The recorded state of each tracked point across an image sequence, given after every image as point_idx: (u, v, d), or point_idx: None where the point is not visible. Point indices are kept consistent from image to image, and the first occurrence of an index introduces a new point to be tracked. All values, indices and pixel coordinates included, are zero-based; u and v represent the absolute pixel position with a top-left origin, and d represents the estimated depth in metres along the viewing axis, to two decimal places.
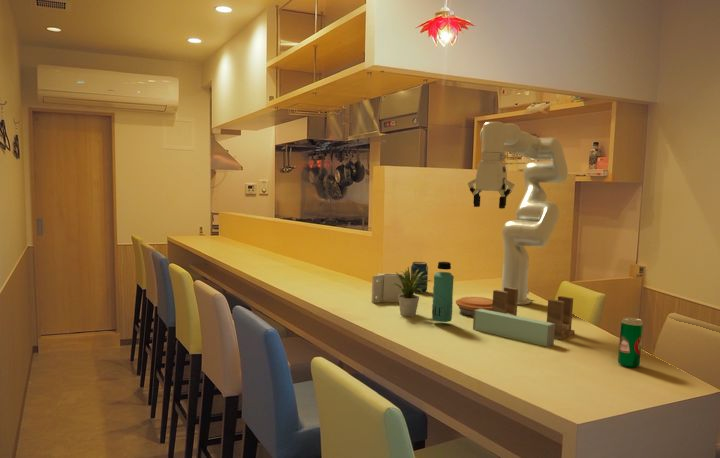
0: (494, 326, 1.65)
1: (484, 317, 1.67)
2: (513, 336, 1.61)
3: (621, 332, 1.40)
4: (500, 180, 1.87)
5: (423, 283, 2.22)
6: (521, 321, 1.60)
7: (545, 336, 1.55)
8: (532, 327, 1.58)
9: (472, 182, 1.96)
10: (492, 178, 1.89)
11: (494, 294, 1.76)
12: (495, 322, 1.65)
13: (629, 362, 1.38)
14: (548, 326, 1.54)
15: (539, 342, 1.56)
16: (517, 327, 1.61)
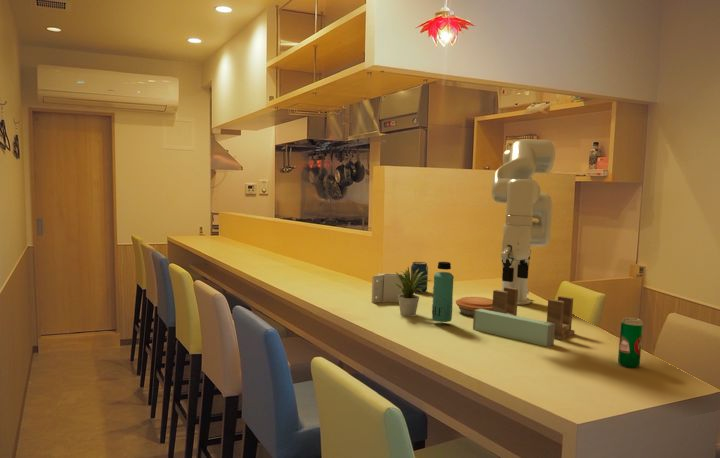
0: (494, 326, 1.65)
1: (484, 317, 1.67)
2: (513, 336, 1.61)
3: (621, 332, 1.40)
4: None
5: (423, 283, 2.22)
6: (521, 321, 1.60)
7: (545, 336, 1.55)
8: (532, 327, 1.58)
9: (508, 252, 1.56)
10: (527, 245, 1.61)
11: (494, 294, 1.76)
12: (495, 322, 1.65)
13: (629, 362, 1.38)
14: (548, 326, 1.54)
15: (539, 342, 1.56)
16: (517, 327, 1.61)
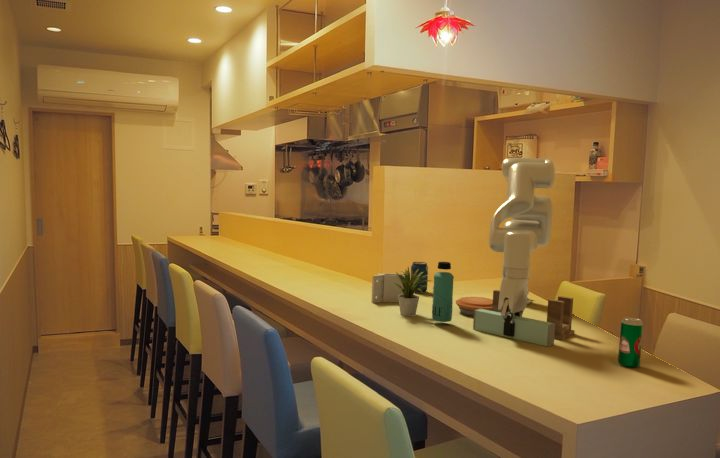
0: (494, 326, 1.65)
1: (484, 317, 1.67)
2: (513, 336, 1.61)
3: (621, 332, 1.40)
4: None
5: (423, 283, 2.22)
6: (521, 321, 1.60)
7: (545, 336, 1.55)
8: (532, 327, 1.57)
9: (507, 310, 1.59)
10: (524, 297, 1.62)
11: (494, 294, 1.76)
12: (495, 322, 1.65)
13: (629, 362, 1.38)
14: (548, 326, 1.54)
15: (539, 342, 1.56)
16: (517, 327, 1.61)
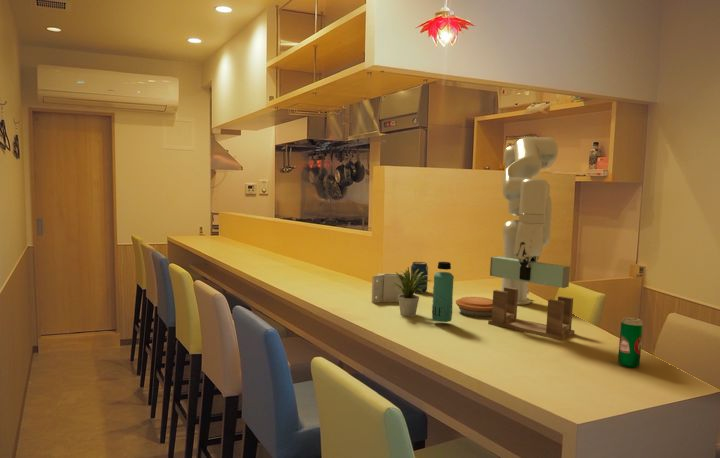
0: (510, 272, 1.71)
1: (501, 263, 1.73)
2: (529, 280, 1.67)
3: (621, 332, 1.40)
4: None
5: (423, 283, 2.22)
6: (537, 265, 1.65)
7: (560, 278, 1.61)
8: (548, 270, 1.63)
9: (523, 254, 1.64)
10: (540, 242, 1.68)
11: (494, 294, 1.76)
12: (511, 267, 1.71)
13: (629, 362, 1.38)
14: (563, 268, 1.60)
15: (554, 284, 1.62)
16: (533, 271, 1.66)
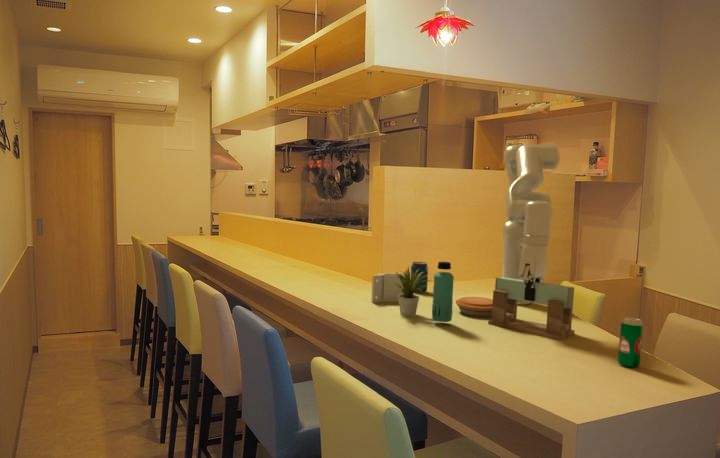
0: (515, 292, 1.74)
1: (506, 284, 1.76)
2: None
3: (621, 332, 1.40)
4: None
5: (423, 283, 2.22)
6: (542, 286, 1.68)
7: (565, 299, 1.64)
8: (552, 291, 1.66)
9: (528, 275, 1.67)
10: (544, 263, 1.71)
11: (494, 294, 1.76)
12: (516, 288, 1.74)
13: (629, 362, 1.38)
14: (568, 289, 1.63)
15: None
16: (538, 291, 1.69)
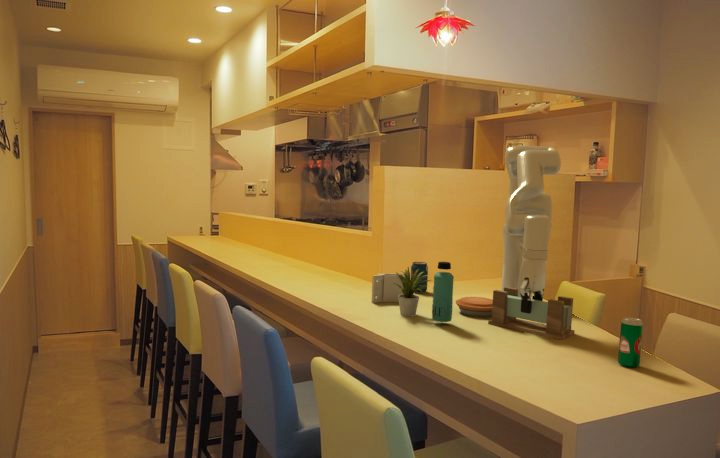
0: (514, 310, 1.75)
1: None
2: (532, 319, 1.71)
3: (621, 332, 1.40)
4: None
5: (423, 283, 2.22)
6: (540, 304, 1.69)
7: (563, 318, 1.65)
8: None
9: (526, 286, 1.67)
10: (543, 277, 1.72)
11: (494, 294, 1.76)
12: (515, 306, 1.75)
13: (629, 362, 1.38)
14: (566, 308, 1.64)
15: None
16: (536, 310, 1.70)
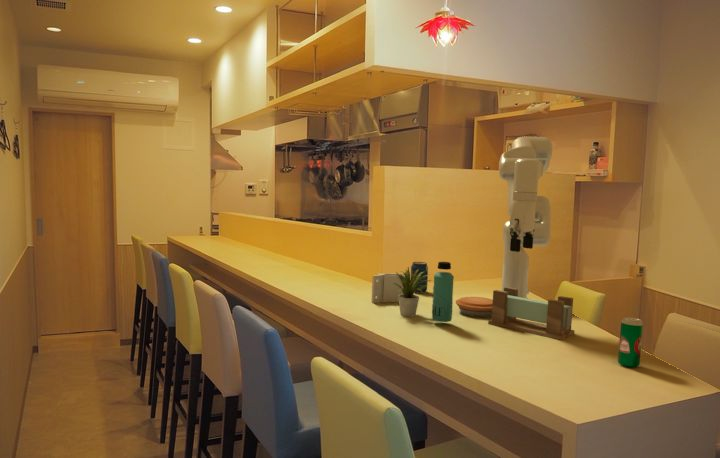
0: (514, 310, 1.75)
1: None
2: (532, 319, 1.71)
3: (621, 332, 1.40)
4: None
5: (423, 283, 2.22)
6: (540, 304, 1.69)
7: (563, 318, 1.65)
8: None
9: (515, 225, 1.73)
10: (532, 219, 1.79)
11: (494, 294, 1.76)
12: (515, 306, 1.75)
13: (629, 362, 1.38)
14: (566, 308, 1.64)
15: None
16: (536, 310, 1.70)
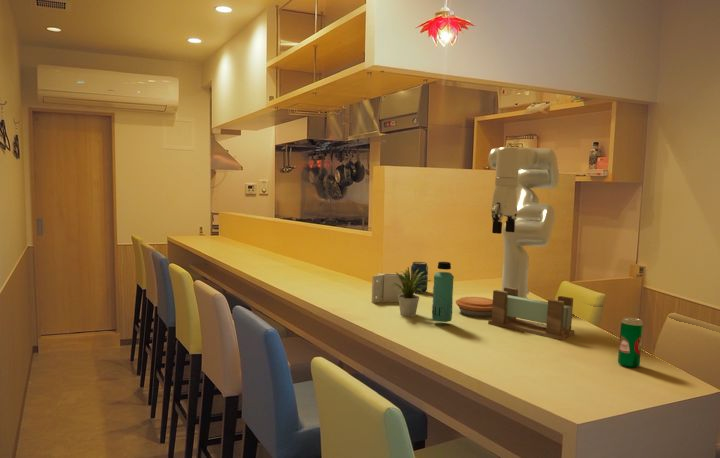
0: (514, 310, 1.75)
1: None
2: (532, 319, 1.71)
3: (621, 332, 1.40)
4: None
5: (423, 283, 2.22)
6: (540, 304, 1.69)
7: (563, 318, 1.65)
8: None
9: (497, 208, 1.85)
10: (513, 203, 1.90)
11: (494, 294, 1.76)
12: (515, 306, 1.75)
13: (629, 362, 1.38)
14: (566, 308, 1.64)
15: None
16: (536, 310, 1.70)
